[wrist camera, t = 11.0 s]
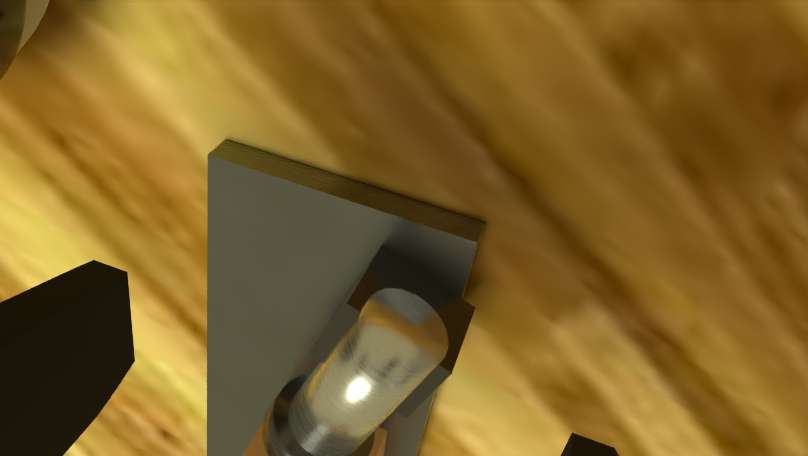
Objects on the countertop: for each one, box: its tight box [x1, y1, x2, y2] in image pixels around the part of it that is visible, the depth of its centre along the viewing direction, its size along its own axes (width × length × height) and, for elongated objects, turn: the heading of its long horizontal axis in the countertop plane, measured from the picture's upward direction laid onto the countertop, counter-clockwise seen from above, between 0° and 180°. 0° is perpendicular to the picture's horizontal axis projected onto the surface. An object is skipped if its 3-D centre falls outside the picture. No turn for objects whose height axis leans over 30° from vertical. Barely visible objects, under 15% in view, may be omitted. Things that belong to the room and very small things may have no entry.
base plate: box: [207, 139, 485, 456], centre depth 27 cm, size 8×23×1 cm, turn 170°
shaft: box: [262, 245, 475, 456], centre depth 20 cm, size 6×3×4 cm, turn 150°
